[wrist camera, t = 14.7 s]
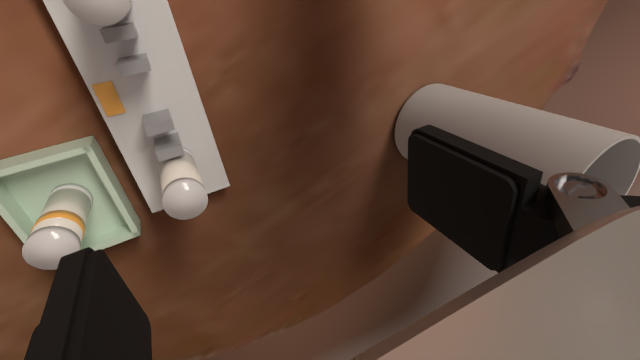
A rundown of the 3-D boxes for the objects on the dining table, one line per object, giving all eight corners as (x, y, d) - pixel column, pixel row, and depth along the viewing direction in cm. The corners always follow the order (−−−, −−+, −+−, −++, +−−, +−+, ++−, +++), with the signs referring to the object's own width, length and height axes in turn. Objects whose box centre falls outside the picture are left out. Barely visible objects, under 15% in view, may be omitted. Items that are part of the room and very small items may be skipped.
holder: (13, -69, 25) (-17, -86, 20) (138, -80, 28) (138, -97, 23) (151, 204, 39) (153, 232, 34) (226, 178, 41) (237, 201, 37)
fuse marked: (40, 190, 33) (10, 244, 25) (81, 178, 34) (64, 225, 27) (61, 219, 35) (39, 276, 27) (99, 206, 36) (88, 258, 28)
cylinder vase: (408, 173, 56) (557, 268, 36) (379, 119, 48) (548, 201, 28) (462, 125, 56) (637, 192, 36) (442, 64, 49) (650, 107, 29)
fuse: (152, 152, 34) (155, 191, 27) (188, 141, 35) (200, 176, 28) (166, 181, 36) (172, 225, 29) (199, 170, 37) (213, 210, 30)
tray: (-17, 164, 30) (-30, 178, 28) (93, 135, 33) (89, 145, 31) (52, 252, 36) (46, 270, 34) (140, 221, 39) (140, 235, 37)
